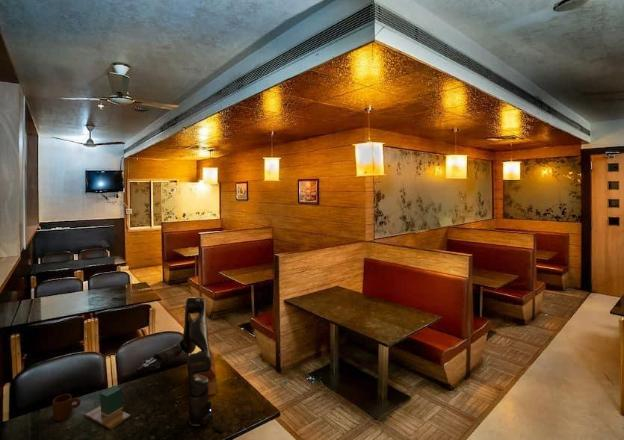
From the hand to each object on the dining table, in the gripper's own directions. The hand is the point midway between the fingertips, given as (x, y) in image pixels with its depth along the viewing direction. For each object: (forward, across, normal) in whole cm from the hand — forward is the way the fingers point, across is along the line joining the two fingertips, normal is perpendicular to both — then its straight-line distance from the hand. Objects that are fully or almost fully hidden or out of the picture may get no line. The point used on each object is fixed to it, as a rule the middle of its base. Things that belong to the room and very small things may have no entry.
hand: (137, 371), depth 182 cm
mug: (+25, -17, +15) cm, 34 cm away
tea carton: (+14, 0, +8) cm, 16 cm away
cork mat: (+16, 0, +15) cm, 22 cm away
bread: (-27, +21, +15) cm, 37 cm away
